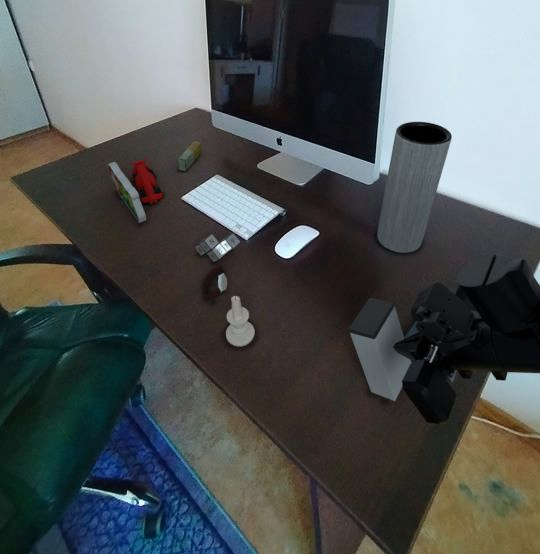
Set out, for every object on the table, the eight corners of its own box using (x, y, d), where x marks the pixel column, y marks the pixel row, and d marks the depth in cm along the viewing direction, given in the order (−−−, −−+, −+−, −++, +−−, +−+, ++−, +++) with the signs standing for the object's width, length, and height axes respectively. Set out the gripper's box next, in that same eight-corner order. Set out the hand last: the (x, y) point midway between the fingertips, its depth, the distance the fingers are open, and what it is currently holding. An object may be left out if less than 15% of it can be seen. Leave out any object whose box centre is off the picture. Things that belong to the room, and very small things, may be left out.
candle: (238, 317, 70) (233, 279, 64) (260, 330, 67) (257, 293, 61) (220, 337, 67) (212, 299, 60) (242, 352, 64) (236, 314, 58)
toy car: (143, 207, 99) (138, 192, 96) (132, 177, 112) (128, 162, 109) (165, 201, 101) (161, 186, 98) (152, 172, 114) (148, 157, 111)
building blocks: (208, 265, 84) (225, 256, 78) (193, 246, 83) (209, 236, 77) (223, 251, 87) (240, 242, 81) (209, 233, 87) (225, 223, 81)
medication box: (186, 171, 114) (185, 160, 111) (178, 170, 114) (176, 159, 112) (201, 152, 123) (201, 142, 120) (194, 151, 123) (193, 140, 121)
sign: (148, 224, 94) (138, 191, 88) (141, 226, 93) (131, 194, 87) (120, 186, 108) (110, 156, 102) (114, 188, 108) (104, 158, 102)
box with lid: (412, 365, 59) (393, 302, 55) (395, 401, 55) (373, 335, 50) (389, 358, 62) (369, 297, 58) (371, 392, 58) (348, 328, 53)
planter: (412, 223, 90) (438, 119, 74) (428, 252, 82) (462, 142, 66) (371, 226, 90) (389, 122, 74) (384, 255, 82) (406, 145, 66)
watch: (222, 303, 73) (219, 291, 71) (199, 301, 73) (196, 289, 71) (231, 274, 79) (229, 262, 77) (209, 272, 79) (207, 260, 77)
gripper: (487, 243, 47) (390, 266, 59) (440, 350, 36) (332, 351, 48) (533, 311, 48) (428, 320, 60) (502, 438, 36) (380, 417, 49)
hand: (395, 347), depth 54 cm, fingers closed
